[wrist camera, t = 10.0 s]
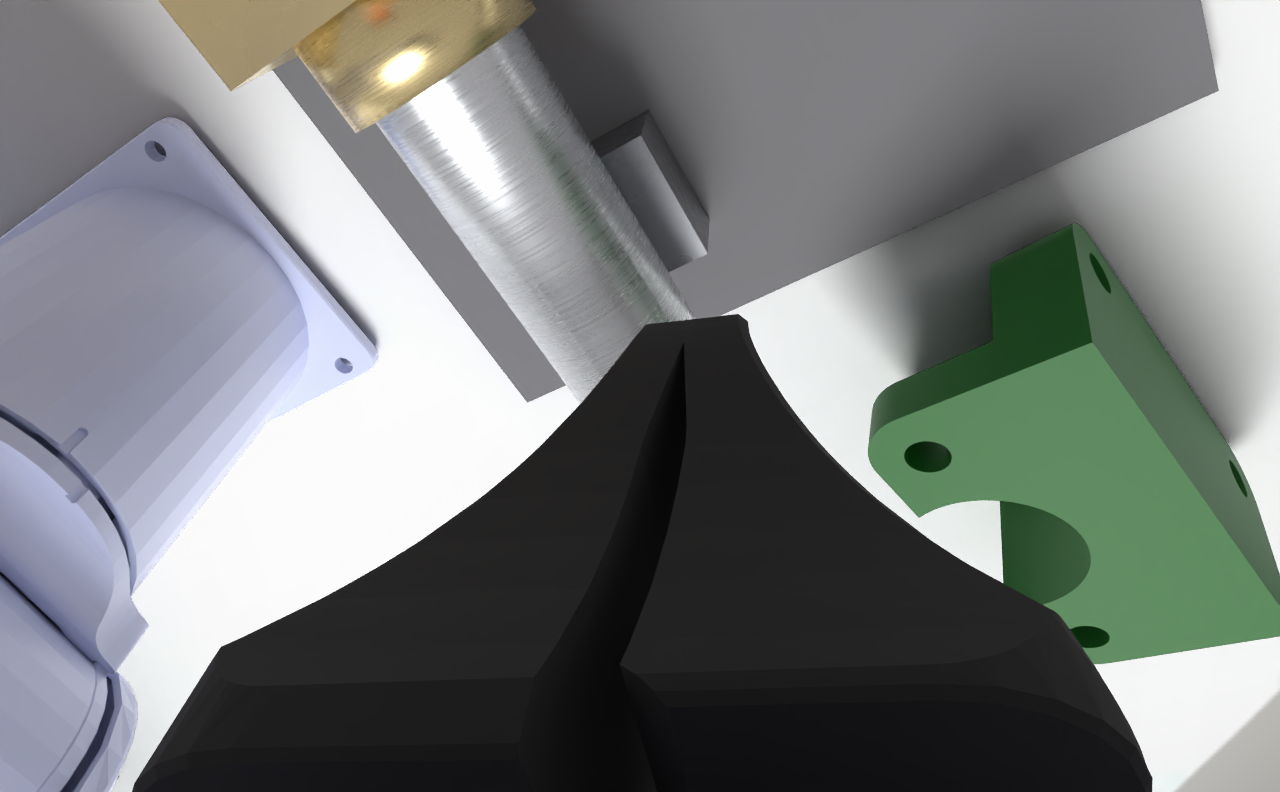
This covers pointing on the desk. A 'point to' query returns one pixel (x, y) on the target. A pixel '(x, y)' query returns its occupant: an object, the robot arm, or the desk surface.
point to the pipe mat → (809, 123)
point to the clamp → (1087, 463)
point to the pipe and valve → (492, 156)
